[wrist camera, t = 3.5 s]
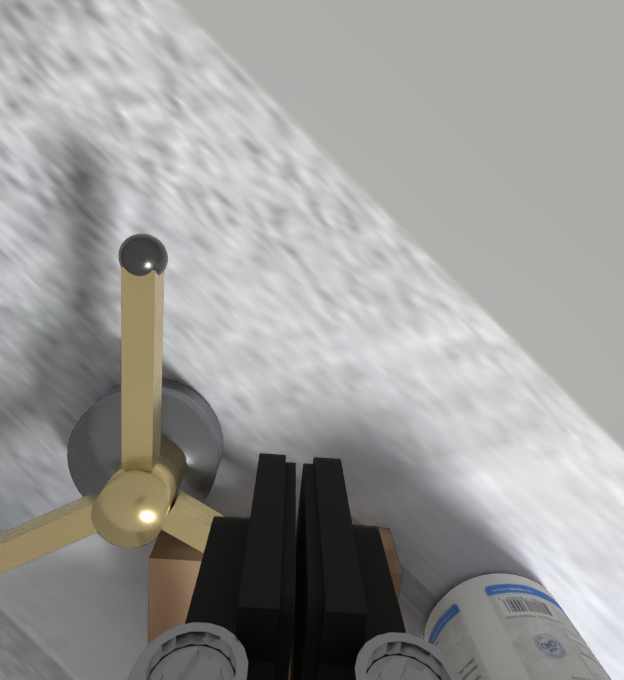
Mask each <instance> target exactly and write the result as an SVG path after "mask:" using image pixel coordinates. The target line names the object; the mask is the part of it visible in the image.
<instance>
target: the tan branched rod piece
mask: <svg viewBox="0 0 624 680" xmlns="http://www.w3.org/2000/svg"><path fill="white" fill-rule="evenodd" d="M167 262H168V255H167V251H166V249H165V247H164V245H163V244H162V242H161V241H159V240H158V239H157V238H155V237H154V236H151V235H148V234H136V235H133V236H130V237H129V238H127V239H126V240H125V241H124V242H123V243H122V245H121V247H120V249H119V263H120V265H121V384H120V385H118V386H116V387H114V388H113V389H111V390H110V391H109V392H107V393H106V394H105V395H104V396H103V397H102V398H101V399H100V400H99V401H98V402H97V403H96V404H94V405H93V406H92V407H91V408H90V409H89V410H88V411H87V412H86V413H85V414H84V415H83V416H82V417H81V419H80V420H79V421H78V422H77V424H76V426H75V428H74V429H73V431H72V434H71V437H70V439H69V444H68V454H67V458H68V466H69V470H70V474H71V477H72V479H73V482H74V484H75V485H76V487H77V489H78V491H79V492H80V493H81V495H82V496H83V498H81V499H78V500H76V501H74V502H71V503H69V504H67V505H65V506H62V507H60V508H58V509H55V510H53V511H51V512H49V513H46V514H44V515H42V516H39V517H37V518H35V519H32V520H30V521H28V522H26V523H23V524H21V525H19V526H16V527H14V528H12V529H10V530H7V531H5V532H3V533H0V574H1V573H3V572H6V571H8V570H10V569H13V568H15V567H17V566H20V565H22V564H24V563H27V562H29V561H31V560H34V559H36V558H38V557H41V556H43V555H45V554H48V553H50V552H52V551H55V550H57V549H59V548H62V547H64V546H66V545H69V544H71V543H73V542H76V541H78V540H80V539H83V538H85V537H87V536H90V535H92V534H94V533H97V532H98V534H99V535H100V536H101V537H102V538H103V539H105V540H106V541H108V542H109V543H111V544H113V545H116V546H120V547H125V548H135V547H140V546H143V545H146V544H148V543H150V542H151V541H153V540H154V539H155V538H156V537H157V536H158V534H159V533H160V531H161V529H162V530H163V531H165V532H167V533H169V534H170V535H172V536H174V537H176V538H178V539H179V540H181V541H183V542H185V543H186V544H188V545H190V546H192V547H193V548H195V549H197V550H199V551H201V552H202V553H204V550H205V546H206V543H207V539H208V535H209V531H210V528H211V524H212V521H213V518H214V516H223V515H222V514H220V513H218V512H217V511H215V510H213V509H211V508H210V507H208V506H206V505H205V504H203V503H202V502H203V501H204V500H205V499H206V497H207V495H208V494H209V492H210V490H211V488H212V486H213V483H214V480H215V477H216V473H217V470H218V467H219V464H220V461H221V457H222V452H223V435H222V429H221V426H220V423H219V421H218V418H217V416H216V414H215V413H214V411H213V410H212V408H211V407H210V406H209V404H208V403H207V402H206V401H205V400H204V399H203V398H202V397H201V396H200V395H199V394H197V393H196V392H194V391H193V390H192V389H190V388H188V387H186V386H184V385H182V384H180V383H177V382H175V381H171V380H167V379H162V350H163V301H164V270H165V268H166V266H167ZM223 517H225V516H223Z"/></svg>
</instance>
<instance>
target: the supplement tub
mask: <svg viewBox="0 0 624 680" xmlns="http://www.w3.org/2000/svg"><path fill="white" fill-rule="evenodd" d="M424 640H426V641H427V642H429V643H431V644H433V645H434V646H436V647H437V648H438V649H439V650H440V651H442V652H443V653H444V654H445V655H446V656H447V657H448V658H449V659H450V660H451V662H452V663H453V665H454V666H455V668H456V669H457V671H458V672H459V674H460V676H461V678H462V680H611V678H610V676H609V675H608V674H607V673H606V671H605V670H604V668H603V667H602V665H601V664H600V663H599V661H598V660H597V658H596V657H595V655H594V654H593V653H592V651H591V650H590V648H589V647H588V645H587V644H586V642H585V641H584V640H583V638H582V637H581V635H580V634H579V632H578V631H577V629H576V628H575V627H574V625H573V624H572V622H571V621H570V619H569V618H568V617H567V615H566V614H565V612H564V611H563V609H562V608H561V607H560V606H559V604H558V603H557V601H556V600H555V598H554V597H553V596H552V595H551V594H550V593H549V592H548V591H547V590H546V589H545V588H543V587H542V586H541V585H539V584H538V583H536V582H534V581H532V580H530V579H528V578H525V577H522V576H518V575H513V574H505V573H496V574H487V575H481V576H477V577H474V578H471V579H469V580H467V581H464V582H462V583H461V584H459V585H457V586H456V587H454V588H453V589H451V590H450V591H449V592H448V593H447V594H446V595H445V596H444V597H443V598H442V599H441V600H440V601H439V602H438V603H437V605H436V606H435V607H434V609H433V610H432V612H431V614H430V616H429V618H428V621H427V623H426V627H425V633H424Z"/></svg>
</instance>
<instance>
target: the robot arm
mask: <svg viewBox="0 0 624 680" xmlns="http://www.w3.org/2000/svg"><path fill="white" fill-rule="evenodd" d="M289 665H290V680H462V678H461V676H460V674H459V672H458V671H457V669H456V668H455V666H454V665H453V663H452V662H451V660H450V659H449V658H448V657H447V656H446V655H445V654H444V653H443V652H442V651H440V650H439V649H438V648H437V647H436V646H434V645H433V644H431V643H429V642H427V641H426V640H424V639H422V638H420V637H417V636H413V635H410V634H407V633H406V631H405V627H404V623H403V620H402V616H401V612H400V608H399V604H398V600H397V596H396V593H395V589H394V585H393V581H392V577H391V573H390V569H389V566H388V562H387V558H386V554H385V550H384V546H383V542H382V539H381V535H380V532H379V529H378V528H377V527H376V526H364V525H352V520H351V515H350V509H349V504H348V498H347V492H346V487H345V481H344V476H343V470H342V464H341V460H340V459H333V458H319V457H314V460H313V464H305V463H304V464H303V471H302V480H301V490H300V500H299V509H298V519H297V529H296V463H290V462H286V455H277V454H263V453H260V455H259V462H258V469H257V476H256V483H255V490H254V497H253V503H252V510H251V517H250V518H239V517H223V516H214V518H213V521H212V524H211V528H210V531H209V535H208V539H207V543H206V546H205V550H204V554H203V558H202V561H201V565H200V569H199V573H198V576H197V580H196V584H195V588H194V591H193V595H192V599H191V603H190V606H189V610H188V614H187V618H186V621H185V624H183V625H178V626H176V627H174V628H172V629H170V630H168V631H165V632H163V633H162V634H160V635H159V636H158V637H157V638H156V639H154V640H153V641H152V642H151V643H149V644H148V646H147V647H146V648H145V650H144V651H143V653H142V654H141V655H140V657H139V658H138V660H137V662H136V664H135V666H134V668H133V670H132V672H131V674H130V675H129V677H128V679H127V680H288V674H289Z"/></svg>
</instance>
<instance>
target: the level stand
mask: <svg viewBox="0 0 624 680" xmlns="http://www.w3.org/2000/svg"><path fill="white" fill-rule="evenodd" d="M296 529H297V522H296ZM378 529H379V532H380V535H381V539H382V542H383V546H384V550H385V554H386V558H387V562H388V566H389V569H390V573H391V577H392V581H393V585H394V589H395V593H396V596H397V600H398V597H399V591H400V585H401V579H402V571H401V567H400V564H399V560H398V557H397V554H396V550H395V547H394V543H393V540H392V536H391V533H390V529H387V528H378ZM203 554H204V553H202V552H201V551H199V550H197V549H195V548H193V547H192V546H190V545H188V544H186V543H185V542H183V541H181V540H179V539H178V538H176V537H174V536H172V535H170V534H169V533H167V532H165V531H163V530H162V529H161V532H160V534H159V536H158V539H157V541H156V543H155V546H154V548H153V550H152V553H151V555H150V557H149V601H148V644H149V643H151V642H152V641H153V640H154V639H156V638H157V637H158V636H159V635H160V634H162V633H163V632H165V631H168V630H170V629H172V628H174V627H176V626H178V625H183V624H185V621H186V618H187V614H188V610H189V606H190V603H191V599H192V595H193V591H194V588H195V584H196V580H197V576H198V573H199V569H200V565H201V561H202V558H203ZM288 680H290V665H289V674H288Z"/></svg>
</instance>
